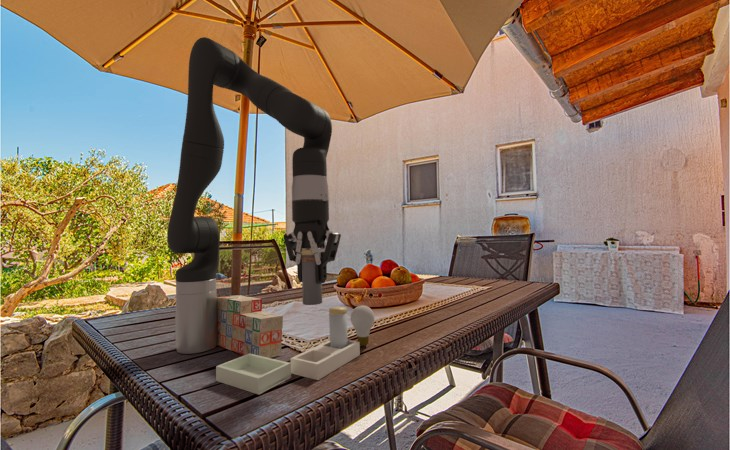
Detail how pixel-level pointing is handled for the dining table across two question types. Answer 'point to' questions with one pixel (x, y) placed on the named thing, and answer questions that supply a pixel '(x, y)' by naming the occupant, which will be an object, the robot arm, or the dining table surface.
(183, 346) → the robot arm
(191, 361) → the dining table surface
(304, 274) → the cylinder
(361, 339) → the light bulb
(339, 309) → the fuse
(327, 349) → the tray
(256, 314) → the stack of blocks
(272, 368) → the parts tray
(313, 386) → the dining table surface
